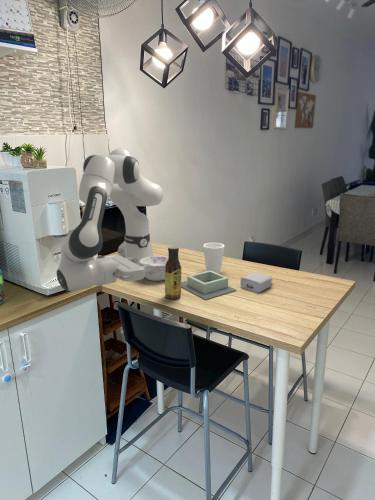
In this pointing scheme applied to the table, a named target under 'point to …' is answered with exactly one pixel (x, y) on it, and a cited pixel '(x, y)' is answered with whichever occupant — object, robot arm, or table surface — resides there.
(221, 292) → the mat
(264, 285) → the charger
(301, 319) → the table surface
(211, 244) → the foam cup
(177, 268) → the sauce bottle
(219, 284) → the bottle holder
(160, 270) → the paper bowls
